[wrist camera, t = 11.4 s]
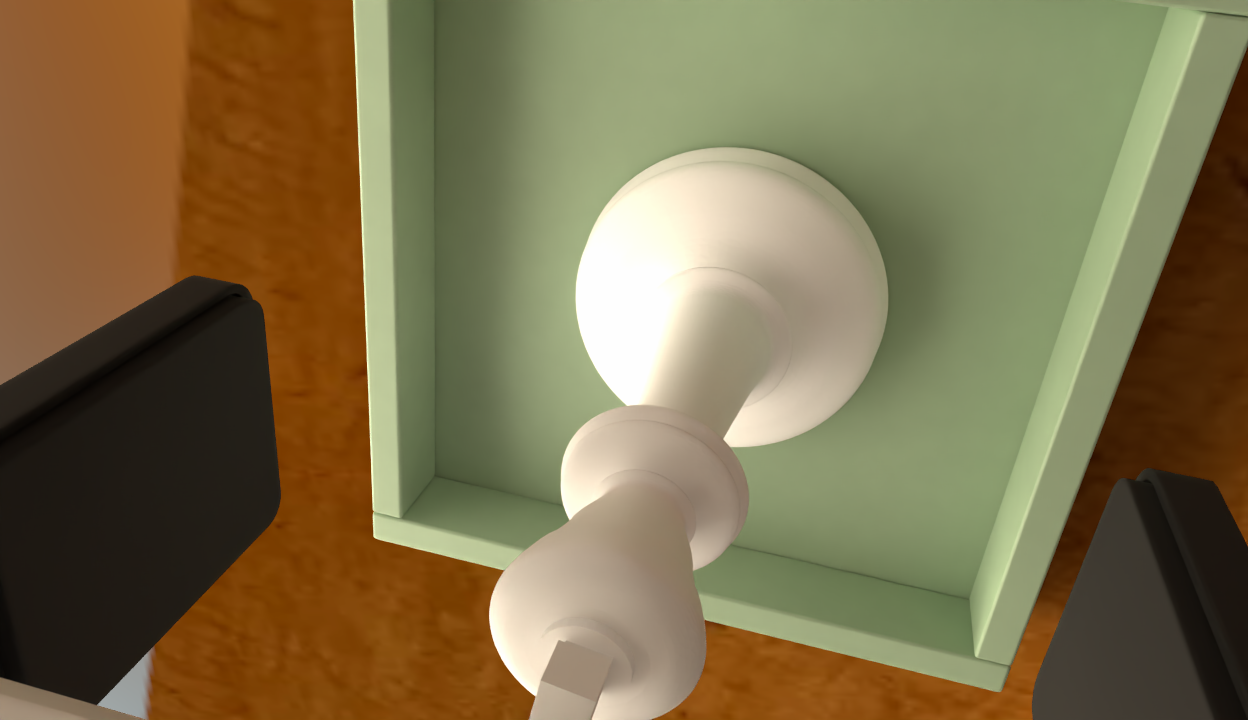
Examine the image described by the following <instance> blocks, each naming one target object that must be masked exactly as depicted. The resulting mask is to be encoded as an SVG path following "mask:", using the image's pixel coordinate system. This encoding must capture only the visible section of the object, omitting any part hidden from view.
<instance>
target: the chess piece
mask: <svg viewBox="0 0 1248 720" xmlns="http://www.w3.org/2000/svg"><path fill="white" fill-rule="evenodd" d="M576 311H577V318H578V324H579V328H580V332H581V335H582V339H583V342H584V345H585V347H586V349H587V352H588V354H589V356H590V358H591V360H592V362H593V364H594V366H595V368H596V369H597V371H598V373H599V374H600V376H601V377H602V378H603V380H604V381H605V382H606V384H607V385H608V386H609V387H610V389H611V390H612V391H613V392H614V393H615V394H616V395H617V396H618V398H620V399H621V400H622V401H623V402H624V403H625V404H626V405H627V406H623V407H618V408H614V409H611V410H608V411H606V412H603V413H601V414H599V415H597V416H595V417H594V418H592V419H591V420H589V421H588V422H587V423H585V424H584V425H583V426H582V427H581V428H580V429H579V430H578V431H577V432H576V434H575V435H574V436H573V438H572V439H571V441H570V442H569V444H568V446H567V448H566V451H565V454H564V457H563V461H562V467H561V495H562V501H563V505H564V508H565V511H566V513H567V516H568V518H569V521H568V522H567V523H566V524H564V525H563V526H562V527H560V528H559V529H557V530H555V531H553V532H551V533H549V534H547V535H545V536H544V537H542V538H541V539H539V540H538V541H537V542H535V543H534V544H533V545H531V546H530V547H529V548H527V549H526V550H525V551H524V552H523V553H521V554H520V555H519V556H518V557H517V558H516V559H515V560H514V561H513V562H512V563H511V564H510V565H509V566H508V567H507V568H506V570H505V571H504V572H503V574H502V575H501V577H500V578H499V580H498V582H497V584H496V586H495V589H494V592H493V594H492V598H491V603H490V612H489V618H490V627H491V633H492V637H493V640H494V643H495V646H496V648H497V650H498V652H499V654H500V656H501V658H502V660H503V661H504V663H505V665H506V666H507V668H508V669H509V670H510V672H511V673H512V674H513V675H514V677H515V678H516V679H517V680H518V681H519V682H520V683H521V684H522V685H523V686H524V687H525V688H526V689H527V690H528V691H530V692H531V693H532V694H533V695H535V696H536V698H535V701H534V705H533V708H532V712H531V715H530V718H529V720H650V719H653V718H656V717H659V716H661V715H663V714H665V713H667V712H669V711H671V710H672V709H674V708H675V707H676V706H678V705H679V704H680V703H682V702H683V701H684V700H685V699H686V698H687V697H688V696H689V694H690V693H691V692H692V691H693V689H694V688H695V686H696V684H697V683H698V681H699V678H700V676H701V674H702V670H703V667H704V663H705V656H706V632H705V623H704V617H703V611H702V605H701V601H700V597H699V594H698V591H697V589H696V587H695V582H694V577H693V571H694V570H697V569H699V568H702V567H704V566H706V565H708V564H709V563H711V562H712V561H714V560H715V559H716V558H718V557H719V556H720V555H721V554H722V553H723V552H724V551H725V550H726V549H727V547H728V546H729V545H730V544H731V543H732V542H733V541H734V540H735V539H736V537H737V536H738V534H739V532H740V531H741V529H742V527H743V525H744V523H745V520H746V517H747V512H748V506H749V490H748V484H747V479H746V476H745V473H744V470H743V468H742V466H741V464H740V462H739V460H738V458H737V456H736V455H735V453H734V452H733V450H732V449H731V448H730V447H753V446H761V445H767V444H772V443H777V442H780V441H784V440H787V439H790V438H793V437H795V436H798V435H800V434H802V433H805V432H807V431H809V430H811V429H812V428H814V427H816V426H818V425H819V424H821V423H822V422H824V421H825V420H827V419H828V418H829V417H831V416H832V415H833V414H834V413H836V412H837V411H838V410H839V409H840V408H841V407H842V406H843V405H844V404H845V403H846V402H847V401H848V400H849V399H850V398H851V397H852V396H853V394H854V393H855V392H856V390H857V389H858V388H859V386H860V385H861V383H862V382H863V380H864V379H865V377H866V375H867V373H868V371H869V369H870V367H871V365H872V363H873V360H874V357H875V355H876V353H877V350H878V348H879V346H880V343H881V340H882V337H883V333H884V330H885V325H886V320H887V314H888V283H887V276H886V271H885V266H884V262H883V259H882V256H881V253H880V250H879V247H878V245H877V242H876V240H875V238H874V236H873V234H872V232H871V230H870V228H869V227H868V225H867V223H866V222H865V220H864V219H863V217H862V216H861V214H860V213H859V212H858V211H857V209H856V208H855V207H854V206H853V204H852V203H851V202H850V201H849V200H848V199H847V198H846V197H845V196H844V195H843V194H842V193H841V192H840V191H839V190H838V189H837V188H835V187H834V186H833V185H832V184H831V183H829V182H828V181H827V180H825V179H824V178H823V177H821V176H820V175H818V174H817V173H815V172H813V171H812V170H810V169H808V168H806V167H805V166H803V165H801V164H799V163H797V162H794V161H792V160H790V159H787V158H784V157H782V156H779V155H775V154H772V153H768V152H764V151H760V150H754V149H748V148H737V147H716V148H706V149H699V150H693V151H689V152H685V153H681V154H678V155H675V156H672V157H670V158H667V159H665V160H662V161H660V162H658V163H656V164H654V165H652V166H650V167H649V168H647V169H645V170H644V171H642V172H641V173H639V174H638V175H636V176H635V177H634V178H632V179H631V180H630V181H629V182H627V183H626V184H625V185H624V186H623V187H622V188H621V189H620V190H619V191H618V192H617V193H616V194H615V195H614V196H613V197H612V198H611V200H610V201H609V202H608V204H607V205H606V206H605V208H604V209H603V211H602V212H601V214H600V215H599V217H598V219H597V221H596V223H595V224H594V226H593V229H592V231H591V233H590V236H589V239H588V241H587V244H586V247H585V249H584V252H583V255H582V258H581V261H580V265H579V269H578V274H577V281H576Z"/></svg>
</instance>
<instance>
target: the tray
mask: <svg viewBox="0 0 1248 720" xmlns="http://www.w3.org/2000/svg"><path fill="white" fill-rule="evenodd" d="M353 10H354V36H355V61H356V87H357V112H358V138H359V163H360V189H361V214H362V240H363V266H364V291H365V317H366V342H367V368H368V393H369V419H370V444H371V470H372V496H373V510H374V511H375V512H374V513H373V528H374V538H376V539H380V540H384V541H388V542H392V543H396V544H400V545H404V546H408V547H412V548H416V549H420V550H424V551H428V552H432V553H436V554H440V555H444V556H448V557H452V558H457V559H461V560H465V561H469V562H473V563H477V564H481V565H485V566H489V567H493V568H497V569H501V570H506V568H507V567H508V566H509V565H510V564H511V563H512V562H513V561H514V560H515V559H516V558H517V557H518V556H519V555H520V554H521V553H523V552H524V551H525V550H526V549H527V548H529V547H530V546H531V545H533V544H534V543H535V542H537V541H538V540H539V539H541V538H542V537H544V536H545V535H547V534H549V533H551V532H553V531H555V530H557V529H559V528H560V527H562V526H563V525H564V524H566V523H567V522H568V521H569V518H568V516H567V513H566V511H565V508H564V505H563V501H562V495H561V467H562V461H563V457H564V454H565V451H566V448H567V446H568V444H569V442H570V441H571V439H572V438H573V436H574V435H575V434H576V432H577V431H578V430H579V429H580V428H581V427H582V426H583V425H584V424H585V423H587V422H588V421H589V420H591V419H592V418H594V417H595V416H597V415H599V414H601V413H603V412H606V411H608V410H611V409H614V408H618V407H623V406H627V405H626V404H625V403H624V402H623V401H622V400H621V399H620V398H618V396H617V395H616V394H615V393H614V392H613V391H612V390H611V389H610V387H609V386H608V385H607V384H606V382H605V381H604V380H603V378H602V377H601V376H600V374H599V373H598V371H597V369H596V368H595V366H594V364H593V362H592V360H591V358H590V356H589V354H588V352H587V349H586V347H585V345H584V342H583V339H582V335H581V332H580V328H579V324H578V318H577V311H576V281H577V274H578V269H579V265H580V261H581V258H582V255H583V252H584V249H585V247H586V244H587V241H588V239H589V236H590V233H591V231H592V229H593V226H594V224H595V223H596V221H597V219H598V217H599V215H600V214H601V212H602V211H603V209H604V208H605V206H606V205H607V204H608V202H609V201H610V200H611V198H612V197H613V196H614V195H615V194H616V193H617V192H618V191H619V190H620V189H621V188H622V187H623V186H624V185H625V184H626V183H627V182H629V181H630V180H631V179H632V178H634V177H635V176H636V175H638V174H639V173H641V172H642V171H644V170H645V169H647V168H649V167H650V166H652V165H654V164H656V163H658V162H660V161H662V160H665V159H667V158H670V157H672V156H675V155H678V154H681V153H685V152H689V151H693V150H699V149H706V148H716V147H737V148H748V149H754V150H760V151H764V152H768V153H772V154H775V155H779V156H782V157H784V158H787V159H790V160H792V161H794V162H797V163H799V164H801V165H803V166H805V167H806V168H808V169H810V170H812V171H813V172H815V173H817V174H818V175H820V176H821V177H823V178H824V179H825V180H827V181H828V182H829V183H831V184H832V185H833V186H834V187H835V188H837V189H838V190H839V191H840V192H841V193H842V194H843V195H844V196H845V197H846V198H847V199H848V200H849V201H850V202H851V203H852V204H853V206H854V207H855V208H856V209H857V211H858V212H859V213H860V214H861V216H862V217H863V219H864V220H865V222H866V223H867V225H868V227H869V228H870V230H871V232H872V234H873V236H874V238H875V240H876V242H877V245H878V247H879V250H880V253H881V256H882V259H883V262H884V266H885V271H886V276H887V283H888V314H887V320H886V325H885V330H884V333H883V337H882V340H881V343H880V346H879V348H878V350H877V353H876V355H875V357H874V360H873V363H872V365H871V367H870V369H869V371H868V373H867V375H866V377H865V379H864V380H863V382H862V383H861V385H860V386H859V388H858V389H857V390H856V392H855V393H854V394H853V396H852V397H851V398H850V399H849V400H848V401H847V402H846V403H845V404H844V405H843V406H842V407H841V408H840V409H839V410H838V411H837V412H836V413H834V414H833V415H832V416H831V417H829V418H828V419H827V420H825V421H824V422H822V423H821V424H819V425H818V426H816V427H814V428H812V429H811V430H809V431H807V432H805V433H802V434H800V435H798V436H795V437H793V438H790V439H787V440H784V441H780V442H777V443H772V444H767V445H761V446H753V447H730V448H731V449H732V450H733V452H734V453H735V455H736V456H737V458H738V460H739V462H740V464H741V466H742V468H743V470H744V473H745V476H746V479H747V484H748V490H749V506H748V512H747V517H746V520H745V523H744V525H743V527H742V529H741V531H740V532H739V534H738V536H737V537H736V539H735V540H734V541H733V542H732V543H731V544H730V545H729V546H728V547H727V549H726V550H725V551H724V552H723V553H722V554H721V555H720V556H719V557H718V558H716V559H715V560H714V561H712V562H711V563H709V564H708V565H706V566H704V567H702V568H699V569H697V570H694V571H693V577H694V582H695V587H696V589H697V591H698V594H699V597H700V601H701V605H702V611H703V617H704V620H708V621H712V622H716V623H720V624H724V625H728V626H732V627H736V628H740V629H744V630H749V631H753V632H757V633H761V634H765V635H769V636H773V637H777V638H781V639H785V640H789V641H793V642H797V643H801V644H805V645H809V646H813V647H817V648H822V649H826V650H830V651H834V652H838V653H842V654H846V655H850V656H854V657H858V658H862V659H866V660H870V661H874V662H878V663H882V664H886V665H890V666H895V667H899V668H903V669H907V670H911V671H915V672H919V673H923V674H927V675H931V676H935V677H939V678H943V679H947V680H951V681H955V682H959V683H963V684H968V685H972V686H976V687H980V688H984V689H988V690H992V691H996V692H1001V691H1002V689H1003V687H1004V684H1005V682H1006V679H1007V676H1008V674H1009V671H1010V668H1011V667H1010V665H1012V663H1013V661H1014V658H1015V655H1016V653H1017V650H1018V648H1019V645H1020V642H1021V640H1022V637H1023V634H1024V632H1025V629H1026V627H1027V624H1028V621H1029V619H1030V616H1031V613H1032V611H1033V608H1034V606H1035V603H1036V600H1037V598H1038V595H1039V592H1040V590H1041V587H1042V585H1043V582H1044V579H1045V577H1046V574H1047V571H1048V569H1049V566H1050V564H1051V561H1052V558H1053V556H1054V553H1055V550H1056V548H1057V545H1058V543H1059V540H1060V537H1061V535H1062V532H1063V529H1064V527H1065V524H1066V522H1067V519H1068V516H1069V514H1070V511H1071V508H1072V506H1073V503H1074V501H1075V498H1076V495H1077V493H1078V490H1079V487H1080V485H1081V482H1082V480H1083V477H1084V474H1085V472H1086V469H1087V466H1088V464H1089V461H1090V459H1091V456H1092V453H1093V451H1094V448H1095V445H1096V443H1097V440H1098V438H1099V435H1100V432H1101V430H1102V427H1103V424H1104V422H1105V419H1106V417H1107V414H1108V411H1109V409H1110V406H1111V403H1112V401H1113V398H1114V396H1115V393H1116V390H1117V388H1118V385H1119V382H1120V380H1121V377H1122V375H1123V372H1124V369H1125V367H1126V364H1127V361H1128V359H1129V356H1130V354H1131V351H1132V348H1133V346H1134V343H1135V340H1136V338H1137V335H1138V333H1139V330H1140V327H1141V325H1142V322H1143V319H1144V317H1145V314H1146V312H1147V309H1148V306H1149V304H1150V301H1151V298H1152V296H1153V293H1154V291H1155V288H1156V285H1157V283H1158V280H1159V277H1160V275H1161V272H1162V270H1163V267H1164V264H1165V262H1166V259H1167V256H1168V254H1169V251H1170V249H1171V246H1172V243H1173V241H1174V238H1175V235H1176V233H1177V230H1178V228H1179V225H1180V222H1181V220H1182V217H1183V214H1184V212H1185V209H1186V207H1187V204H1188V201H1189V199H1190V196H1191V193H1192V191H1193V188H1194V186H1195V183H1196V180H1197V178H1198V175H1199V172H1200V170H1201V167H1202V165H1203V162H1204V159H1205V157H1206V154H1207V151H1208V149H1209V146H1210V144H1211V141H1212V138H1213V136H1214V133H1215V130H1216V128H1217V125H1218V123H1219V120H1220V117H1221V115H1222V112H1223V109H1224V107H1225V104H1226V102H1227V99H1228V96H1229V94H1230V91H1231V88H1232V86H1233V83H1234V81H1235V78H1236V75H1237V73H1238V70H1239V67H1240V65H1241V62H1242V60H1243V57H1244V54H1245V52H1246V49H1247V46H1248V0H353Z"/></svg>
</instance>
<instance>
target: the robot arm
mask: <svg viewBox="0 0 1248 720" xmlns="http://www.w3.org/2000/svg"><path fill="white" fill-rule="evenodd" d="M280 499H281V490H280V479H279V469H278V458H277V448H276V437H275V427H274V416H273V406H272V395H271V385H270V374H269V364H268V353H267V343H266V332H265V322H264V314H263V309H262V307H261V305H260V303H258V302H257V301H256V300H252V296H251V294H250V292H249V290H248V289H247V288H246V287H244V286H243V285H240V284H235V283H231V282H226V281H221V280H216V279H211V278H206V277H201V276H191V277H188V278H185V279H184V280H182V281H180V282H178V283H177V284H175V285H173V286H172V287H170V288H168V289H166V290H165V291H163V292H161V293H159V294H158V295H156V296H154V297H153V298H151V299H149V300H147V301H146V302H144V303H142V304H140V305H139V306H137V307H136V308H133V309H132V310H130V311H128V312H127V313H125V314H123V315H121V316H120V317H118V318H116V319H114V320H113V321H111V322H109V323H107V324H106V325H104V326H102V327H100V328H99V329H97V330H95V331H94V332H92V333H90V334H88V335H87V336H85V337H83V338H81V339H80V340H78V341H76V342H74V343H73V344H71V345H69V346H68V347H66V348H64V349H62V350H61V351H59V352H57V353H55V354H54V355H52V356H50V357H49V358H47V359H45V360H44V361H42V362H40V363H38V364H37V365H35V366H33V367H31V368H29V369H28V370H26V371H24V372H22V373H21V374H19V375H17V376H16V377H14V378H12V379H10V380H9V381H7V382H5V383H3V384H2V385H0V720H146V719H142V718H139V717H135V716H132V715H128V714H125V713H121V712H118V711H115V710H111V709H108V708H104V707H101V706H97V704H98V703H99V702H100V701H101V700H102V699H103V698H104V697H105V696H106V695H107V694H108V693H109V692H110V691H111V690H112V689H113V688H114V687H115V686H116V685H117V684H118V683H119V682H120V680H121V679H122V678H123V677H124V676H125V675H126V674H127V673H128V672H129V671H130V670H131V669H132V668H133V667H134V666H135V665H136V664H137V663H138V662H139V661H140V660H141V659H142V657H144V655H145V654H146V653H147V652H148V651H149V650H150V649H151V648H152V647H153V646H154V645H155V644H156V643H157V642H158V641H159V640H160V639H161V638H162V637H163V636H164V635H165V634H166V633H167V631H168V630H169V629H170V628H171V627H172V626H173V625H174V624H175V623H176V622H177V621H178V620H179V619H180V618H181V617H182V616H183V615H184V614H185V613H186V612H187V611H188V610H189V609H190V608H191V606H192V605H193V604H194V603H195V602H196V601H197V600H198V599H199V598H200V597H201V596H202V595H203V594H204V593H205V592H206V591H207V590H208V589H209V588H210V587H211V586H212V585H213V584H214V582H215V581H216V580H217V579H218V578H219V577H220V576H221V575H222V574H223V573H224V572H225V571H226V570H227V569H228V568H229V567H230V566H231V565H232V564H233V563H234V562H235V561H236V560H237V559H238V557H239V556H240V555H241V554H242V553H243V552H244V551H245V550H246V549H247V548H248V547H249V546H250V545H251V544H252V543H253V542H254V541H255V540H256V539H257V538H258V537H259V536H260V535H261V533H262V532H263V531H264V530H265V529H266V528H267V527H268V526H269V525H270V524H271V522H272V521H273V519H274V517H275V516H276V514H277V511H278V508H279V504H280ZM1032 714H1033V720H1248V546H1247V544H1246V542H1245V540H1244V538H1243V536H1242V534H1241V532H1240V530H1239V528H1238V526H1237V524H1236V522H1235V520H1234V518H1233V516H1232V515H1231V513H1230V511H1229V509H1228V507H1227V505H1226V503H1225V501H1224V499H1223V497H1222V495H1221V493H1220V491H1219V489H1218V487H1217V486H1216V485H1215V483H1214V482H1213V481H1210V480H1205V479H1200V478H1196V477H1191V476H1186V475H1181V474H1176V473H1171V472H1166V471H1161V470H1156V469H1151V468H1147V469H1145V470H1143V471H1142V472H1141V473H1140V475H1139V476H1138V477H1137V479H1136V480H1131V479H1126V478H1121V479H1119V480H1118V481H1117V483H1116V484H1115V486H1114V488H1113V490H1112V492H1111V494H1110V497H1109V499H1108V501H1107V504H1106V506H1105V509H1104V511H1103V514H1102V516H1101V519H1100V521H1099V524H1098V526H1097V529H1096V531H1095V534H1094V536H1093V539H1092V541H1091V544H1090V546H1089V549H1088V551H1087V554H1086V556H1085V559H1084V561H1083V564H1082V566H1081V569H1080V571H1079V574H1078V576H1077V579H1076V581H1075V584H1074V586H1073V589H1072V591H1071V594H1070V596H1069V599H1068V601H1067V604H1066V606H1065V609H1064V611H1063V613H1062V616H1061V618H1060V621H1059V623H1058V626H1057V628H1056V631H1055V633H1054V636H1053V638H1052V641H1051V643H1050V646H1049V648H1048V651H1047V653H1046V656H1045V658H1044V661H1043V663H1042V666H1041V668H1040V671H1039V673H1038V676H1037V679H1036V682H1035V687H1034V691H1033V700H1032Z"/></svg>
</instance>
